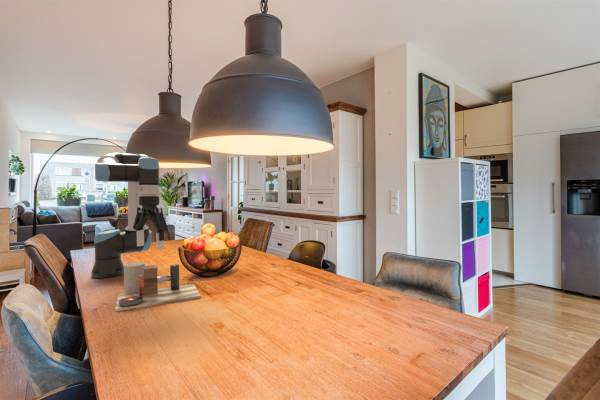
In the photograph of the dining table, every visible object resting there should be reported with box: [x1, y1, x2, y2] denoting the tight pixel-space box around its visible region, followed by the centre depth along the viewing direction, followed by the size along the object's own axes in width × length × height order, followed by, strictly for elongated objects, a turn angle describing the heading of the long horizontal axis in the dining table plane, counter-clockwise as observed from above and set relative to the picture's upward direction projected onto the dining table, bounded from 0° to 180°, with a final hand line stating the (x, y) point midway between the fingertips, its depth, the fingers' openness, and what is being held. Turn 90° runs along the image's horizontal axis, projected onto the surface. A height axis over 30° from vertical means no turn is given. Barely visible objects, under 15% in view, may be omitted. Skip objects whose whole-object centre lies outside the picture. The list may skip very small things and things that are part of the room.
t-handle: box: [157, 264, 180, 290], centre depth 130 cm, size 4×15×10 cm, turn 118°
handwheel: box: [119, 275, 144, 307], centre depth 116 cm, size 10×8×9 cm
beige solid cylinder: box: [123, 261, 146, 294], centre depth 133 cm, size 8×8×12 cm
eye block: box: [114, 264, 202, 312], centre depth 125 cm, size 18×30×12 cm, turn 118°
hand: (150, 247), depth 125 cm, fingers open, 13 cm apart
